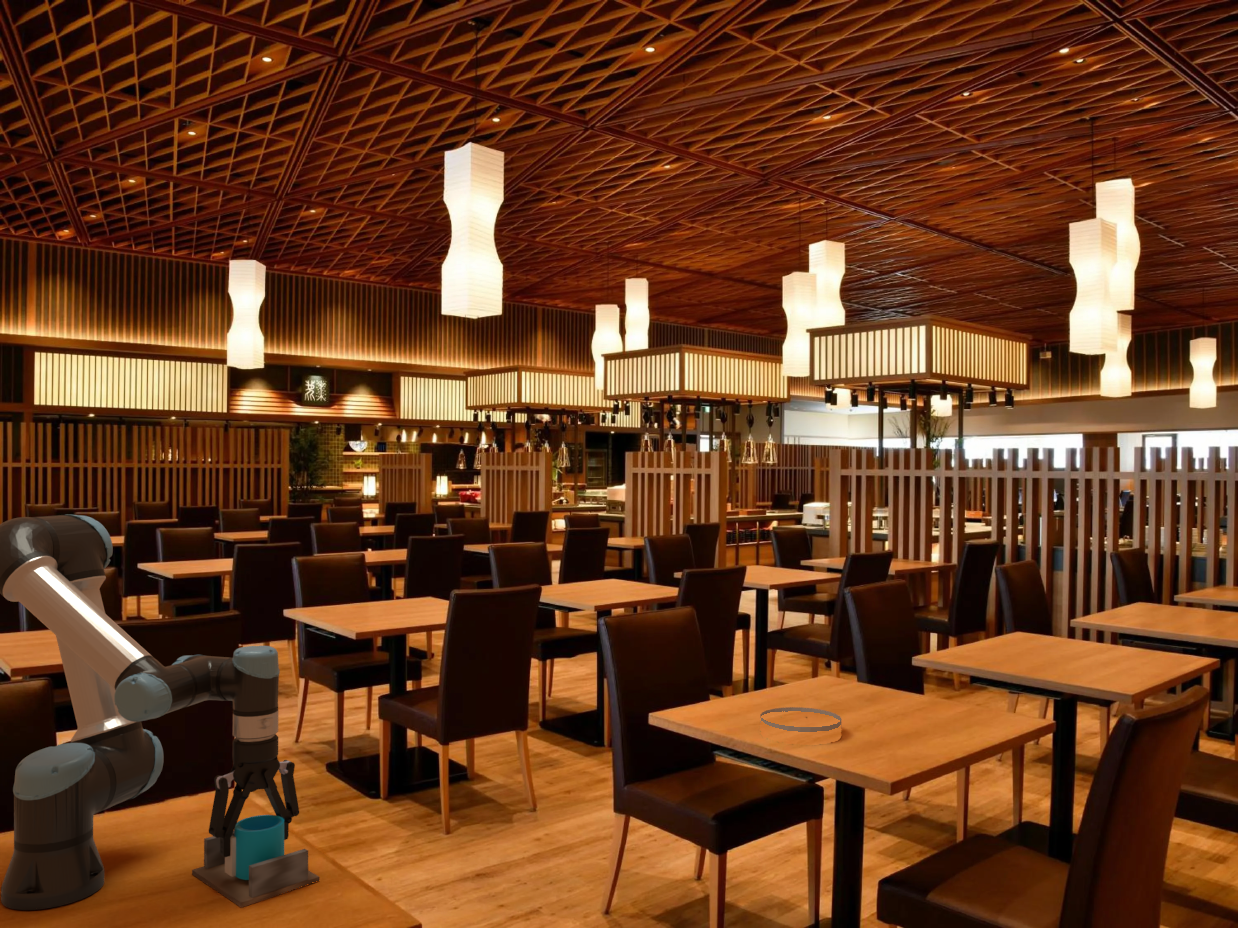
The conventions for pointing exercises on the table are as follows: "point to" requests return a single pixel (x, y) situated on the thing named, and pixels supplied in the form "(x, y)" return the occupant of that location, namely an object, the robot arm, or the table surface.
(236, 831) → the mug
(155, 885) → the table surface
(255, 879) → the holder
